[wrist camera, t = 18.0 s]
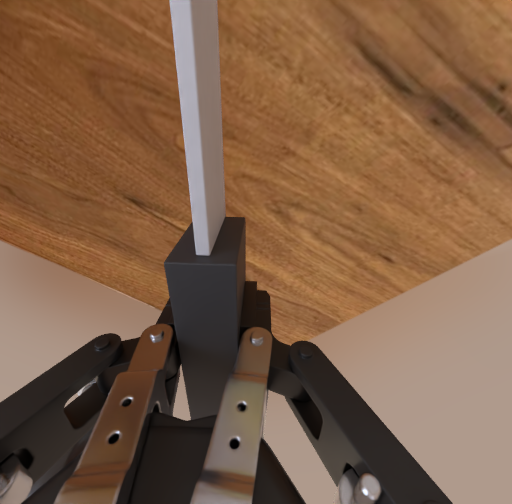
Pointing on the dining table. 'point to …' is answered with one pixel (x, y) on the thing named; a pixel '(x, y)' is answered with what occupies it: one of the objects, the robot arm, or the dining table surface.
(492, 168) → the dining table surface
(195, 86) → the knife
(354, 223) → the dining table surface
